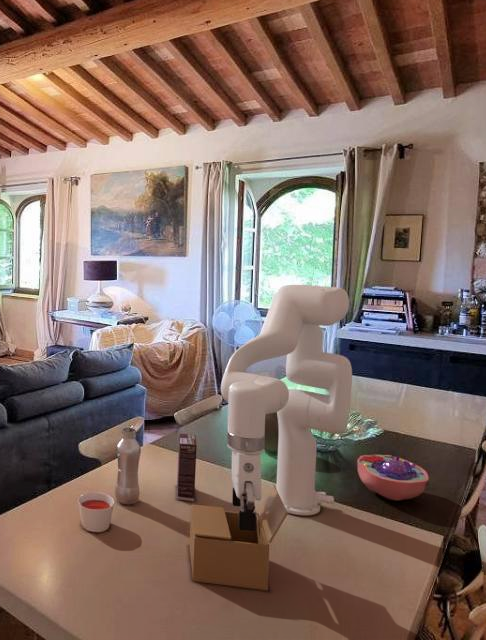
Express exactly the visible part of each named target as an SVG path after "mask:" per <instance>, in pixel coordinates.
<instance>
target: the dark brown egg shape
mask: <svg viewBox="0 0 486 640" xmlns="http://www.w3.org/2000/svg"><path fill="white" fill-rule="evenodd" d="M278 439H279V426H278V416H277V412H275V413H269V414H265V439H264V451H267V452H269V453H278Z"/></svg>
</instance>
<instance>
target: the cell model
mask: <svg viewBox="0 0 486 640" xmlns="http://www.w3.org/2000/svg"><path fill="white" fill-rule="evenodd" d="M356 471H357V474H358V476H359V479H360V482H361V483H362V484H363V485H364V486H365V487H366V488H367V489H368V490H369V491H370V492H372V493H375V494H376V495H379V496H381V497H383V498H384V499H387V500H390V501H393V502H399V501H406V500H411V499H415V498H417V497H419V496H420V495H421V494H423V493H424V492H425V490H426V485H427V482H428V481H429V480H430V479H429V475H428V472H427V471H426V470H425V469H424V468H422V467H421V466H419V465H417V463H415V462H411V461H409V460H406V459H404V458H402V457H400V456H399V455H396V456H393V455H392V454H377V453H376V454H365V455H360V456H359V457H358V458H357V461H356Z"/></svg>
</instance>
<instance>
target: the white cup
mask: <svg viewBox="0 0 486 640" xmlns="http://www.w3.org/2000/svg"><path fill="white" fill-rule="evenodd" d="M77 505H78V510H79V511H78V512H79V516H80V522H81V526H82V528H83V529H84V530H86V531H88V532H91V533H101V532H106V530H108V529H109V528H110V525H111V520H112V515H113V510H114V506H115V500H114V498H113V497H112V496H111V495H109V494H107V493H104V492H99V491H98V492H95V491H92V492H86V493H83V494H81V495H79V496H78V498H77Z"/></svg>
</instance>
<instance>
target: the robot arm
mask: <svg viewBox="0 0 486 640" xmlns="http://www.w3.org/2000/svg"><path fill="white" fill-rule="evenodd" d="M349 308H350V298H349V295H348V293H347V291H346V290H345V289H344V288H342V287H336V286H322V285H311V284H310V285H309V284H288V285H287V284H286V285H283V286H281V287H280V288H278V290H277V292H276V293H275V294H274V295H273V297H272V300H271V302H270V305H269V307H268V310H267V313H266V316H265V319H264V322H263V325H262V327H261V330H260V332H259V334H258V335H257V336H254V337H253V338H251V339H250V340H248V341H246V342H245V343H244V344H242V345H241V346H240V347H239V348H237V349H236V350H235V351H234V352H233V353H232V355H231V356H230V358H229V359H228V362H227V364H226V367H225V369H224V373H223V375H222V378H221V383H220V394H221V397H222V398H223V400H224V401H225V402H227V433H226V435H227V437H226V444H227V445H226V446H227V448H228V449H230V450H231V482H232V486H233V487H232V500H231V504H232V506H233V507H240V509H238V512H239V529H240V530H248V531H255V522H256V514H257V513H256V501H257V502H259V501H261V500H262V462H261V461H262V460H261V454H262V453H263V452H264V451H265V449H264V439H265V414H269V413H275V412H277V416H278V426H279V439H278V452H277V465H276V466H277V467H276V484H275V488H276V490H277V492H278V494H279V496H280V498H281V500H282V502H283V504H284V506H285V508H286V510H287V512H288V514H292V515H297V516H304V517H305V516H314V515H317V514H318V513H320V511H321V504H322V503H326V504H333V505H334V503H335V497H334V496H333V495H327V493H326V491H325V492H324V491H317V490H316V469H317V449H318V447H317V446H318V445H317V441H316V438H315V436H314V434H313V433H312V430H314V431H319V432H323V433H327V434H334V435H341V434H343V433H344V432H345V431H346V430H347V428H348V425H349V421H350V420H349V419H350V408H351V396H352V385H353V368H352V364H351V361H350V360H349V359H348V357H346V356H344V355H341V354H338V353H330V352H324V350H323V342H324V332H323V329H322V327H328V326H329V327H330V326H333V325H335V324H336V323H339V322H341V321H342V320H343V319H344V318H345V317H346V315H347V314H348V312H349ZM321 326H322V327H321ZM283 356H286V361H285V375H286V379H287V380H288V381H289V382H291V383H292V384H296V385H301V386H305V387H309V388H310V387H311V388H315V389H321V390H326V391H327V392H328V393H329V394H324V393H319V392H315V391H309V390H304V389H298V388H297V389H296V388H288V386H287V384H286V383H285V382H284V381H283V380H281V379H279V378H276V377H271V376H267V375H261V374H256V373H251V372H250V373H249V372H246V371H247V370H248V369H249V368H250V367H251V366H253V365H254V364H257V363H260V362H263V361H267V360H271V359H276V358H280V357H283ZM255 500H256V501H255Z"/></svg>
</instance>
